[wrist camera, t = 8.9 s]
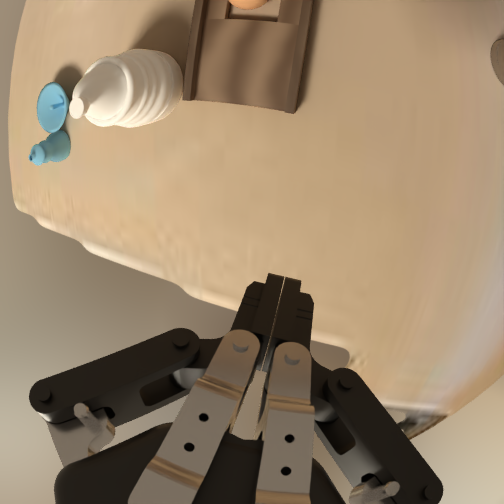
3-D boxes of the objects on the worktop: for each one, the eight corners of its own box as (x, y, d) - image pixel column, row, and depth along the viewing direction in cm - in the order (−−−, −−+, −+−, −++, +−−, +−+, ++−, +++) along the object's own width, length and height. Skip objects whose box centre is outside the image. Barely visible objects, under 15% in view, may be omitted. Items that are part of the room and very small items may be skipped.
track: (320, -47, 21) (319, -55, 19) (295, 112, 37) (293, 113, 34) (214, -51, 23) (208, -58, 21) (190, 99, 39) (182, 100, 36)
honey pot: (198, 85, 37) (127, 90, 22) (147, 137, 43) (72, 169, 29) (152, 36, 33) (73, 26, 19) (107, 89, 40) (29, 105, 25)
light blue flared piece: (55, 77, 39) (23, 83, 32) (86, 83, 39) (52, 88, 32) (46, 153, 49) (18, 166, 42) (75, 165, 50) (44, 180, 42)
